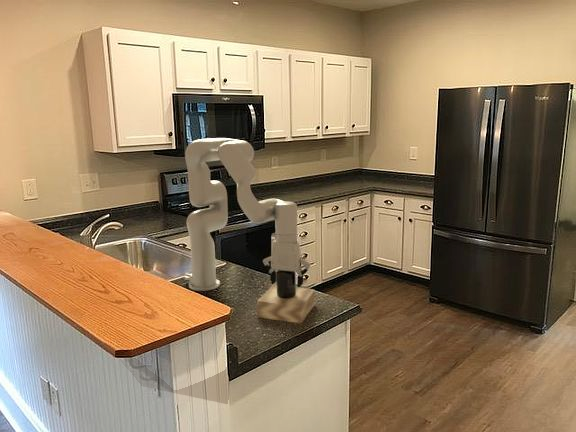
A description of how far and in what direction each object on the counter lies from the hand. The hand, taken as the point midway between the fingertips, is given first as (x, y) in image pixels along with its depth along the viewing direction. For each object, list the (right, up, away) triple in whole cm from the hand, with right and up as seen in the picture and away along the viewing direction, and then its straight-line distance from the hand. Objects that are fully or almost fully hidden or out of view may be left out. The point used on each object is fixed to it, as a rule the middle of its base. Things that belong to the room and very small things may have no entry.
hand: (286, 284), depth 163 cm
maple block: (0, -10, +2) cm, 10 cm away
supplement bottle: (0, -4, +1) cm, 4 cm away
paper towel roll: (-3, -5, +25) cm, 25 cm away
